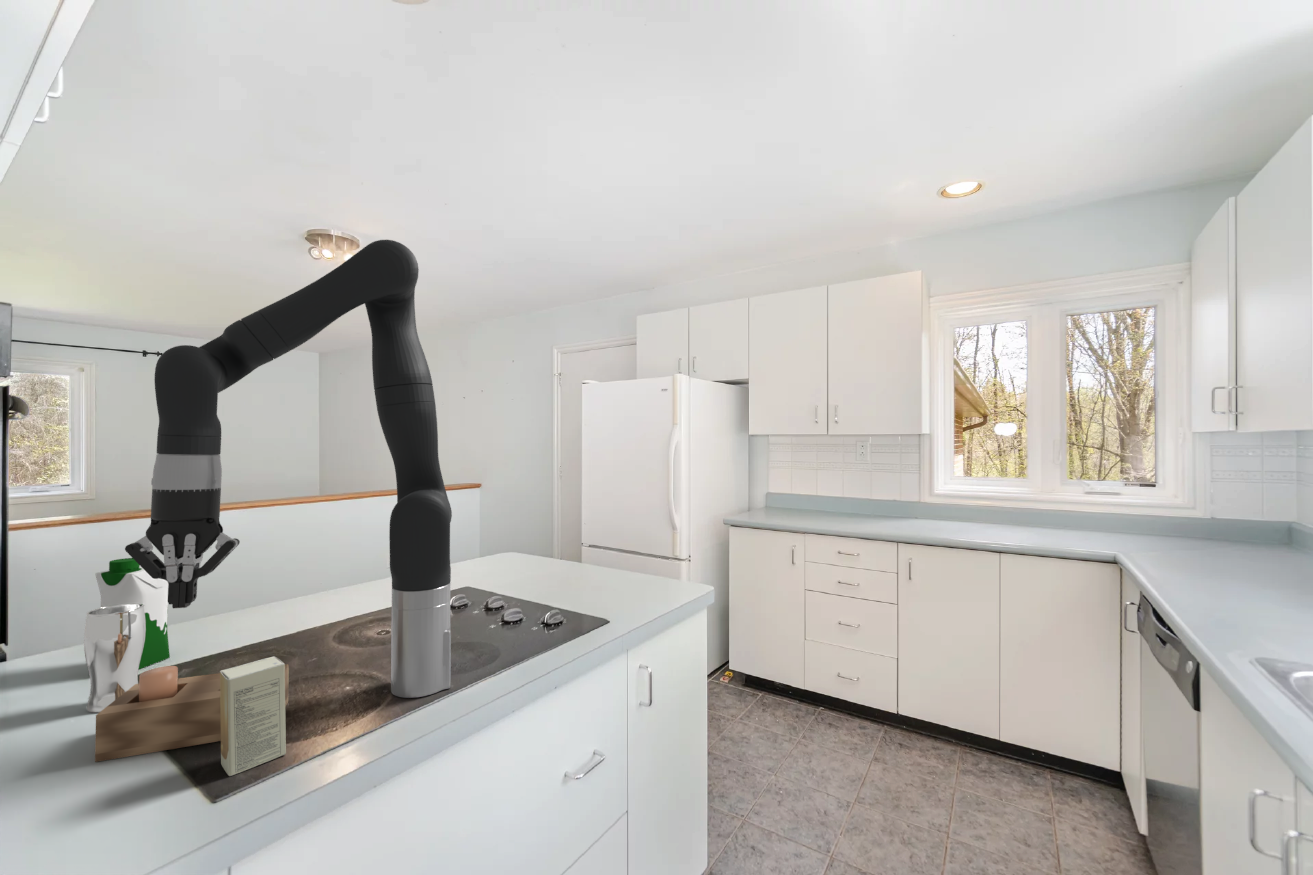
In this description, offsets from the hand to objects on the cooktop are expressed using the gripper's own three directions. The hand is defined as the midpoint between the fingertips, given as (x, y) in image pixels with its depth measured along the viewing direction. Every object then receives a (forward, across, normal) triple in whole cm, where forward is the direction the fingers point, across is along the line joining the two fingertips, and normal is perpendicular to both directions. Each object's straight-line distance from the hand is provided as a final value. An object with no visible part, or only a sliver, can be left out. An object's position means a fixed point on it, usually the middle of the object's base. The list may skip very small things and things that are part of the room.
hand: (181, 606), depth 77 cm
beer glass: (+18, +13, -15) cm, 27 cm away
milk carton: (+19, +18, -34) cm, 43 cm away
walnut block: (+18, -3, 0) cm, 18 cm away
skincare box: (+18, -12, +12) cm, 25 cm away
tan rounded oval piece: (+13, +2, 0) cm, 14 cm away
